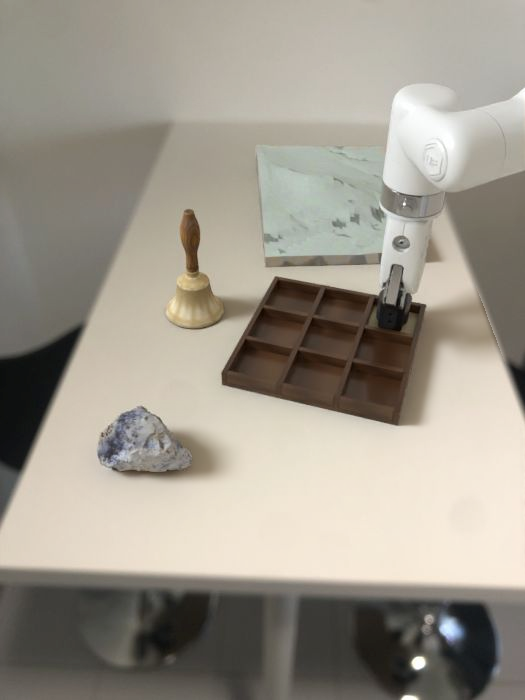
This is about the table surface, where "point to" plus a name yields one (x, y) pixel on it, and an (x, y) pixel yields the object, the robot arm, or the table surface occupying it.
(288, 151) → the decorative slab
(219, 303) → the hand bell
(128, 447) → the mineral specimen
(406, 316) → the dark grey cylinder
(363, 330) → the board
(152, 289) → the table surface
